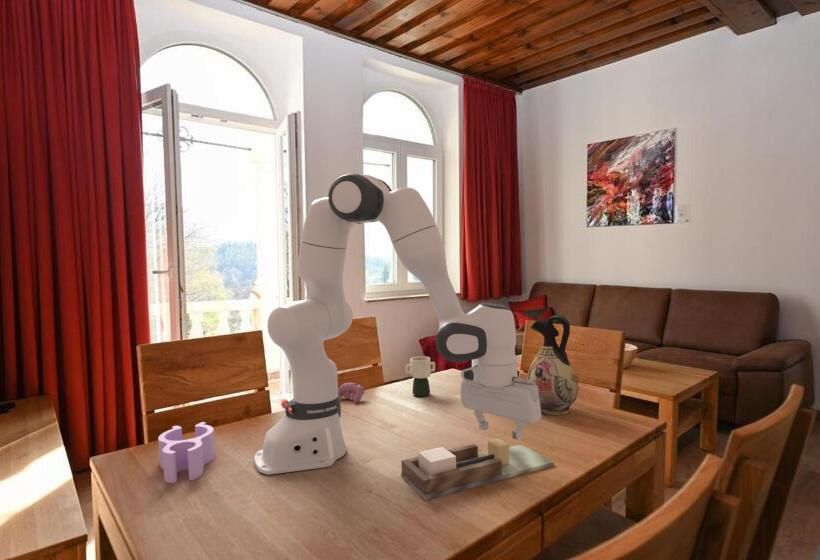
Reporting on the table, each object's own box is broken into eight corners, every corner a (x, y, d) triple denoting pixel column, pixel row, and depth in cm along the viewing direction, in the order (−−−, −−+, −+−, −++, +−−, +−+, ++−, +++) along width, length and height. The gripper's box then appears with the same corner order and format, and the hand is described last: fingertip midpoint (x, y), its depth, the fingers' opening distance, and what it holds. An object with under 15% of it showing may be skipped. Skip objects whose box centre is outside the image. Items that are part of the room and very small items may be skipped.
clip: (212, 477, 112) (210, 447, 111) (151, 487, 108) (149, 456, 107) (216, 445, 131) (214, 420, 130) (164, 453, 126) (162, 427, 126)
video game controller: (363, 406, 166) (367, 385, 168) (355, 403, 162) (360, 382, 165) (340, 402, 171) (345, 382, 174) (332, 399, 168) (337, 379, 170)
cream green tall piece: (432, 390, 176) (431, 355, 175) (439, 395, 169) (438, 358, 169) (403, 394, 173) (402, 357, 172) (409, 399, 166) (408, 361, 165)
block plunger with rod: (431, 485, 102) (430, 462, 102) (418, 474, 107) (418, 452, 107) (511, 464, 110) (511, 443, 110) (496, 455, 116) (495, 434, 116)
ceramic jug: (516, 412, 150) (514, 315, 148) (542, 400, 161) (540, 309, 159) (568, 424, 138) (567, 318, 136) (592, 411, 149) (591, 313, 147)
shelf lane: (425, 500, 98) (425, 481, 98) (401, 476, 109) (400, 459, 109) (553, 465, 112) (553, 449, 112) (520, 447, 123) (520, 432, 122)
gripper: (545, 377, 106) (547, 440, 106) (472, 365, 121) (474, 421, 121) (529, 384, 101) (531, 449, 102) (455, 370, 116) (457, 427, 117)
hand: (500, 433), depth 112 cm, fingers open, 8 cm apart
